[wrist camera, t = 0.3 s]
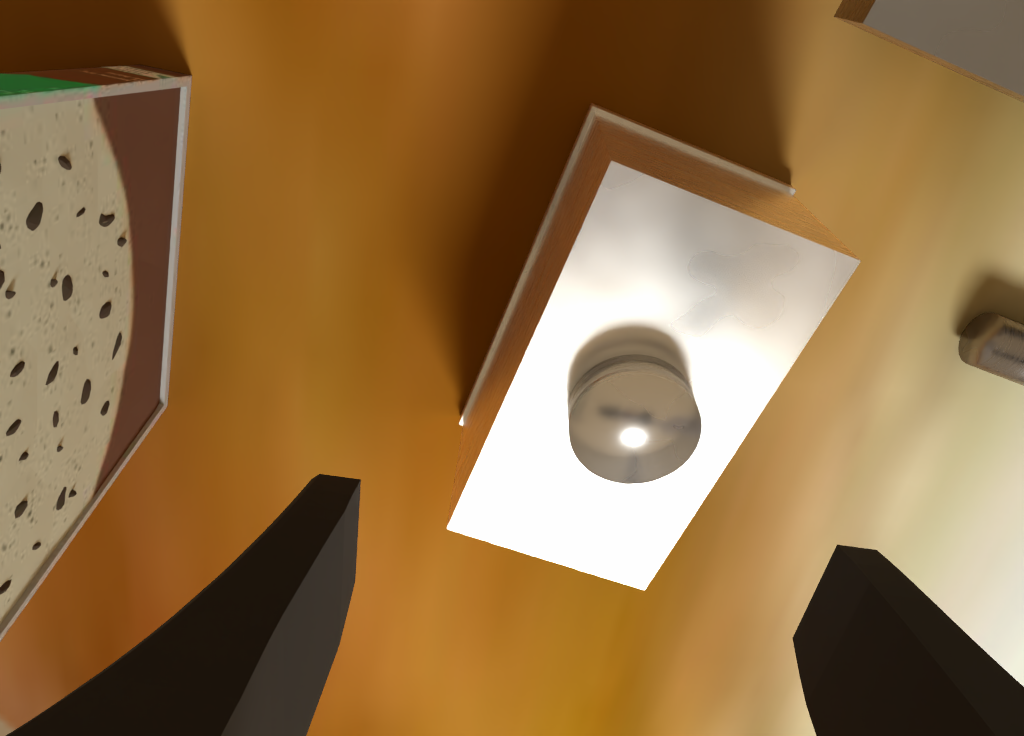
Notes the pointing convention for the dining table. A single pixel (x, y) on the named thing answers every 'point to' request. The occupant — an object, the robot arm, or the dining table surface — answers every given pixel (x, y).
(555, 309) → the block
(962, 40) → the stand
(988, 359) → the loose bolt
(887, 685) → the robot arm
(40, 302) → the food container
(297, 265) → the dining table surface
